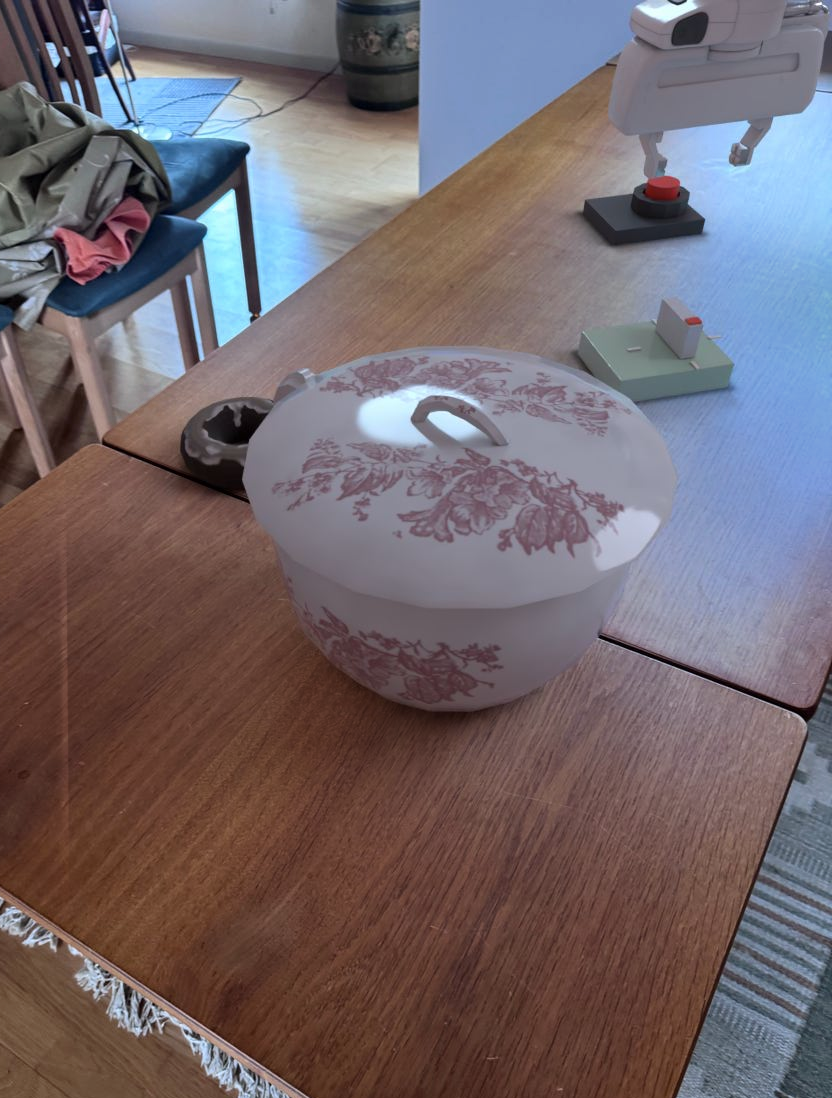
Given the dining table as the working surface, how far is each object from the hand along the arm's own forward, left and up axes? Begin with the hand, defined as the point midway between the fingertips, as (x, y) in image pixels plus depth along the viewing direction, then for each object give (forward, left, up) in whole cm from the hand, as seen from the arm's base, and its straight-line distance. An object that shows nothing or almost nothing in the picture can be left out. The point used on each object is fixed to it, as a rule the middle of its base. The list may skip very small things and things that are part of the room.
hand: (696, 170), depth 92 cm
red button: (-9, -21, -11) cm, 25 cm away
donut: (+50, +16, -15) cm, 55 cm away
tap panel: (+7, +12, -15) cm, 21 cm away
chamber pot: (+38, +42, -15) cm, 59 cm away
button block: (-7, -21, -15) cm, 27 cm away
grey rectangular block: (+5, +12, -12) cm, 18 cm away
